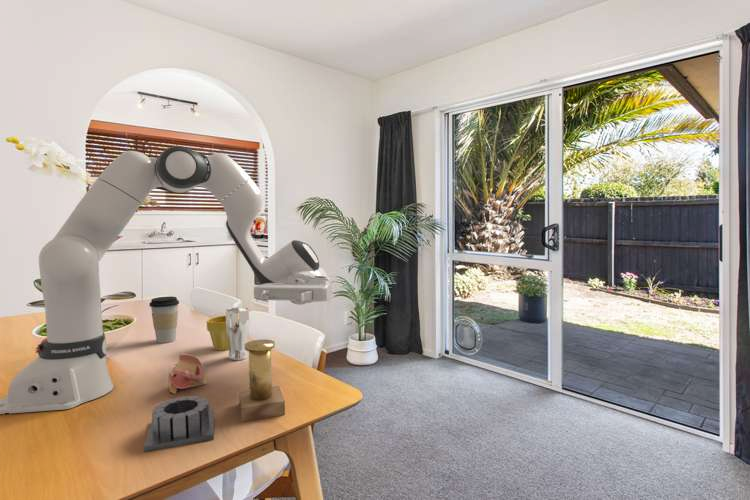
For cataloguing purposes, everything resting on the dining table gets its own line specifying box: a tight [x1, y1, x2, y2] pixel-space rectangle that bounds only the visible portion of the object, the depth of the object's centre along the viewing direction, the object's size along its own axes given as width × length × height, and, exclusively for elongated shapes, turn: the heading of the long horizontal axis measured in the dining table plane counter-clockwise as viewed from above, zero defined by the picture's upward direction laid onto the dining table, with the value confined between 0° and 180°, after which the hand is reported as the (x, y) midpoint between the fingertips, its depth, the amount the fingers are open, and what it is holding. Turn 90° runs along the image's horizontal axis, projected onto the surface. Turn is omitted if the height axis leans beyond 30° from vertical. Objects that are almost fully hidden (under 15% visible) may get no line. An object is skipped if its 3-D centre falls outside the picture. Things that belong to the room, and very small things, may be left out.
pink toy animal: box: [167, 353, 208, 395], centre depth 107 cm, size 9×10×10 cm
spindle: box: [245, 339, 276, 401], centre depth 94 cm, size 6×6×12 cm
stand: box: [238, 385, 286, 422], centre depth 94 cm, size 9×9×3 cm
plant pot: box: [206, 315, 229, 351], centre depth 139 cm, size 10×10×10 cm
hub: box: [143, 395, 215, 453], centre depth 85 cm, size 12×12×5 cm
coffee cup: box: [149, 296, 180, 344], centre depth 147 cm, size 9×9×15 cm
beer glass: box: [225, 306, 251, 361], centre depth 129 cm, size 7×7×15 cm
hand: (281, 297), depth 105 cm, fingers open, 8 cm apart
